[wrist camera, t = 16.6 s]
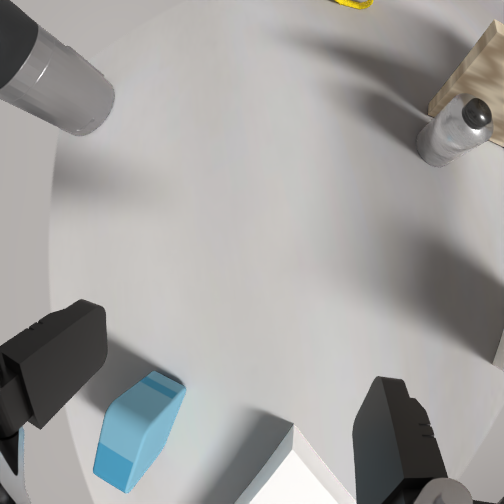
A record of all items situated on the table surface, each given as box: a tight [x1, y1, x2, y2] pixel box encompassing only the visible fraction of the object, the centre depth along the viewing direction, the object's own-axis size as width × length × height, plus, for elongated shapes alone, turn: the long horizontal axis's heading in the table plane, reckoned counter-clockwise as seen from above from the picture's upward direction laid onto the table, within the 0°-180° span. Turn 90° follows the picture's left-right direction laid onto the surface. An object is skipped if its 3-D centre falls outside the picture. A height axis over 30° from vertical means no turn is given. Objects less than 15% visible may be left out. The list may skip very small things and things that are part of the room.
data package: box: [93, 371, 186, 493], centre depth 31 cm, size 12×4×12 cm, turn 157°
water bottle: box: [416, 93, 494, 167], centre depth 26 cm, size 5×5×12 cm
